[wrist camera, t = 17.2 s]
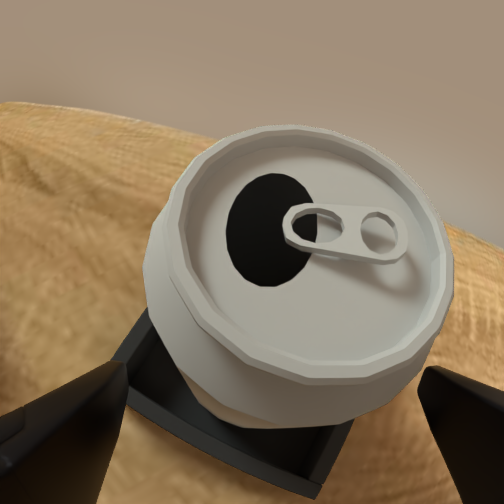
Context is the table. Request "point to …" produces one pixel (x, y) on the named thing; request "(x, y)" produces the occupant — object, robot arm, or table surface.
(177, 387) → the black square open tray
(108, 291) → the table surface
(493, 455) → the robot arm
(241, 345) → the can
